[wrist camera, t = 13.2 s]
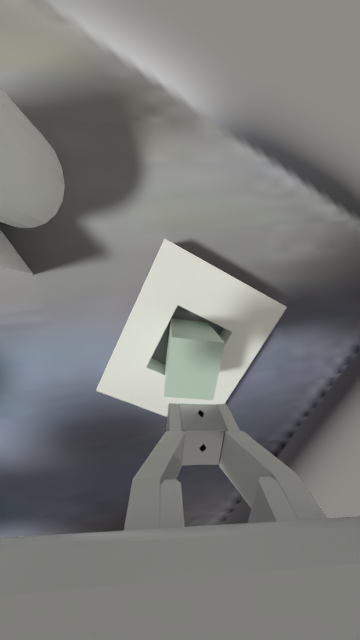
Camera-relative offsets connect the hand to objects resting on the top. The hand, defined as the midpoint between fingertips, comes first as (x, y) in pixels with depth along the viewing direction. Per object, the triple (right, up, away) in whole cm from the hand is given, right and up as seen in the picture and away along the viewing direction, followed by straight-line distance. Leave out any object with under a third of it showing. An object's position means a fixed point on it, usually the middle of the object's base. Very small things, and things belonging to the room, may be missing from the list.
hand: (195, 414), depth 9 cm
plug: (0, +2, +10) cm, 10 cm away
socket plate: (0, +2, +10) cm, 11 cm away
